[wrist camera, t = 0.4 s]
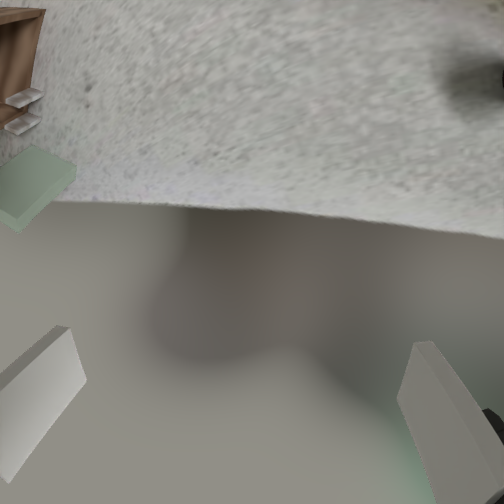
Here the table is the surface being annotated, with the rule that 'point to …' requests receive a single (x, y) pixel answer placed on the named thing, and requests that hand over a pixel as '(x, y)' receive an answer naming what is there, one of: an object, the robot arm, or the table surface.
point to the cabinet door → (31, 185)
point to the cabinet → (18, 66)
